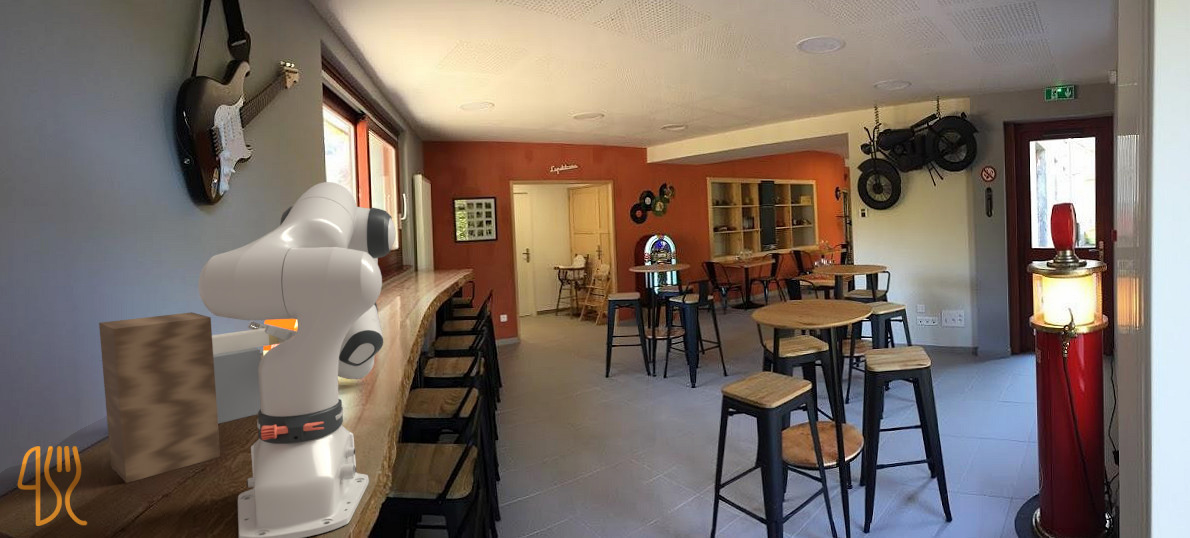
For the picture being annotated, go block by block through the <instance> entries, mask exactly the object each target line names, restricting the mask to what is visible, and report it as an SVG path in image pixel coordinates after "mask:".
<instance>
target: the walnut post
mask: <svg viewBox="0 0 1190 538" xmlns="http://www.w3.org/2000/svg"><path fill="white" fill-rule="evenodd" d="M211 318H212V317H210V316H207V315H203V314H199V313H197V312H196V313H195V312H185V313H184V312H183V313H176V314H175V313H174V314H166V315H158V316H157V315H156V316H146V317H140V318H138V317H137V318H130V319H129V318H128V319H120V320H112V321H111V320H110V321H103V322H98V326H99V338H100V350H101V351H100V352H101V361H102V375H103V385H104V396H105V397H104V399H105V409H106V420H107V421H106V422H107V435H108V444H109V445H108V446H109V456H110V467H111V466H112V468H113V469H114V470H115V471H116V472H117V473H116V472H115V471H114V470H113V469H112V468H111V469H112V470H113V471H114V472H115V473H116V474H117V475H118V476H119V477H120V478H121V479H122V480H123V481H124V483H126V484H128V483H131V482H135V481H138V480H143V479H146V478H148V477H153V476H156V475H159V474H164V473H167V472H170V471H174V470H178V469H181V468H186V467H189V466H192V465H195V464H198V463H199V464H200V463H203V462H207V461H211V460H214V459H218V458H220V457H221V449H220V447H221V446H220V435H219V433H220V431H219V424H218V417H217V403H216V388H215V374H214V359H213V345H212V335H213V333H212V332H213V331H212V320H211Z"/></svg>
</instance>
